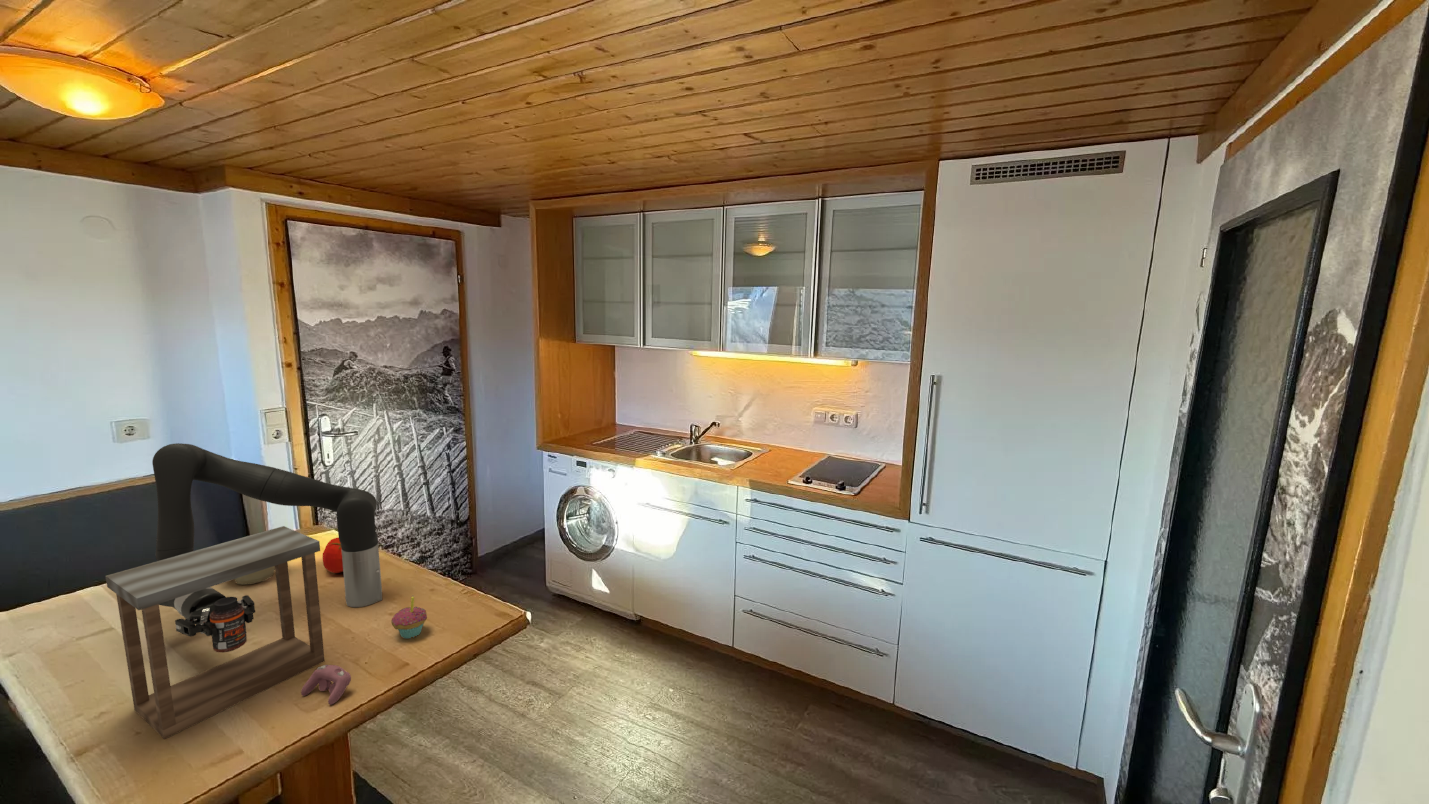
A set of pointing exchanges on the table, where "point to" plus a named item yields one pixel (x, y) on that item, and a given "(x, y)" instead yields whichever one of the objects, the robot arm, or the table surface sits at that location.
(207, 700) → the under-counter shelf
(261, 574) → the planter bowl
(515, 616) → the table surface
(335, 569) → the tomato
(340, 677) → the video game controller
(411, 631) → the cupcake
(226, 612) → the supplement bottle
